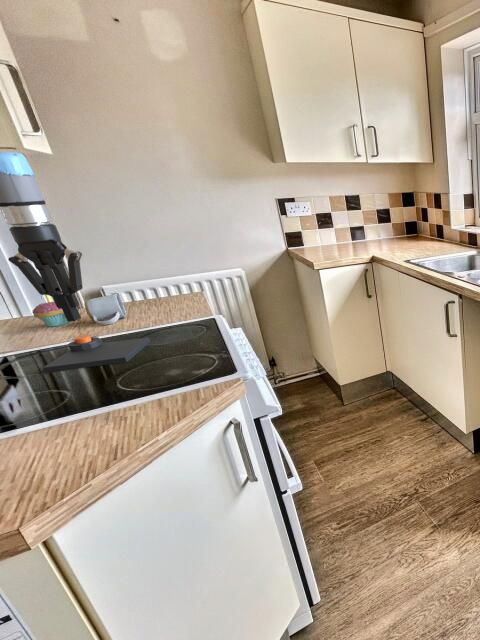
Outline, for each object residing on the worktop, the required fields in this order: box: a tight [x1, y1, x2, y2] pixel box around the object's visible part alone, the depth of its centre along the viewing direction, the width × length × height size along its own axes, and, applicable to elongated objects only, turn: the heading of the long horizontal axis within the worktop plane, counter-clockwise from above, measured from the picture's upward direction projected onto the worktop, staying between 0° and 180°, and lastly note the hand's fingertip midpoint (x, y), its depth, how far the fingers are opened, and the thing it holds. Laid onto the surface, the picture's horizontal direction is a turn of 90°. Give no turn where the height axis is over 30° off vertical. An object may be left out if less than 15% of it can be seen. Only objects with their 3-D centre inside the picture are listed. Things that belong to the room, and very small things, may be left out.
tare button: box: [73, 334, 92, 344], centre depth 109 cm, size 3×3×2 cm
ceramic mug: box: [84, 293, 127, 326], centre depth 132 cm, size 11×8×8 cm
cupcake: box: [31, 295, 70, 328], centre depth 129 cm, size 9×8×12 cm
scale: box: [42, 336, 152, 374], centre depth 108 cm, size 16×15×3 cm
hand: (74, 319), depth 107 cm, fingers closed
